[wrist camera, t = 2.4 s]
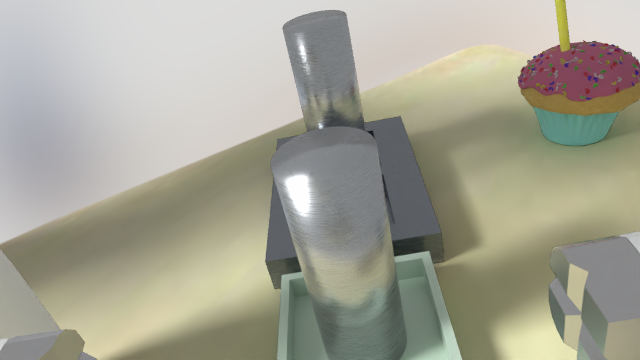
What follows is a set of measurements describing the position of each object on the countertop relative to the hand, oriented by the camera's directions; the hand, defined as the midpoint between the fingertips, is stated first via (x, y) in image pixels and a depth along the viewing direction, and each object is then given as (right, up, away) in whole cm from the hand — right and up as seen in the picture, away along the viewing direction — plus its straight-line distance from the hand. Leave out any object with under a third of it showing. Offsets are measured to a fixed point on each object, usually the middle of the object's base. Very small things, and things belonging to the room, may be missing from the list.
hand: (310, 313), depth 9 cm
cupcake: (+21, +6, +33) cm, 39 cm away
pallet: (+2, +1, +30) cm, 31 cm away
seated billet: (+2, +3, +33) cm, 33 cm away
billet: (+3, -6, +19) cm, 20 cm away
